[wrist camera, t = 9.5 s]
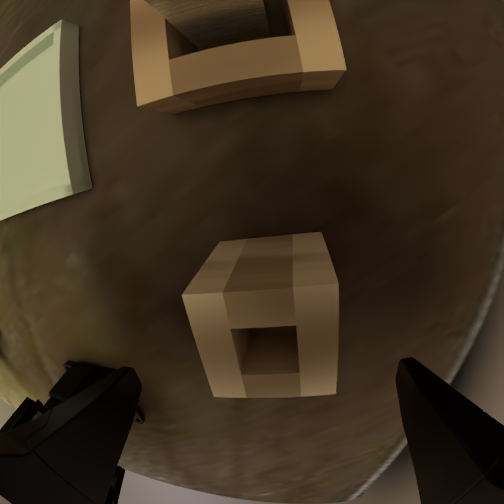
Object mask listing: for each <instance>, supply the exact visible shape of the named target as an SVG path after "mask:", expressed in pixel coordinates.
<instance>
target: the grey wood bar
mask: <svg viewBox="0 0 504 504" xmlns="http://www.w3.org/2000/svg"><path fill="white" fill-rule="evenodd" d="M144 1H145V2H147V3H148V4H149V5H150V6H151V7H153V8H154V9H155V10H156V11H157V12H158V13H160V14H161V15H162V16H163V17H164V18H165V19H167V20H168V21H169V22H170V23H171V24H172V25H173V26H174V27H175V28H177V29H178V30H179V31H180V32H181V33H182V34H183V35H184V36H185V37H186V38H187V39H188V40H190V41H191V42H192V43H193V44H194V45H195V46H196V47H197V48H198V49H199V50H200V51H203V50H207V49H211V48H215V47H220V46H225V45H229V44H235V43H240V42H246V41H252V40H258V39H265V38H271V37H270V31H269V26H268V21H267V17H266V12H265V7H264V2H263V0H144Z"/></svg>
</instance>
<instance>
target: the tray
mask: <svg viewBox="0 0 504 504" xmlns="http://www.w3.org/2000/svg"><path fill="white" fill-rule="evenodd" d="M89 189H92V183H91V177H90V172H89V166H88V160H87V154H86V147H85V140H84V132H83V123H82V113H81V102H80V86H79V26H78V25H75V24H72V23H70V22H67V21H65V20H60V21H59V22H57V23H56V24H54V25H53V26H51V27H50V28H49V29H47V30H46V31H45V32H43V33H42V34H41V35H39V36H38V37H37V38H35V39H34V40H33V41H32V42H30V43H29V44H28V45H27V46H26V47H24V48H23V49H22V50H21V51H20V52H18V53H17V54H16V55H15V56H14V57H13V58H12V59H11V60H10V61H8V62H7V63H6V64H5V65H4V66H3V67H2V68H1V69H0V221H1V220H3V219H6V218H8V217H11V216H13V215H16V214H18V213H21V212H23V211H26V210H29V209H31V208H34V207H37V206H40V205H43V204H45V203H48V202H51V201H54V200H57V199H60V198H63V197H66V196H69V195H73V194H76V193H79V192H82V191H86V190H89Z"/></svg>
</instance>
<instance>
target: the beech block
mask: <svg viewBox="0 0 504 504" xmlns="http://www.w3.org/2000/svg"><path fill="white" fill-rule="evenodd" d="M182 297H183V301H184V304H185V308H186V311H187V315H188V318H189V322H190V325H191V329H192V332H193V335H194V338H195V342H196V345H197V348H198V351H199V354H200V357H201V360H202V363H203V367H204V370H205V372H206V375H207V378H208V381H209V384H210V387H211V390H212V393H213V395H214V397H226V398H282V397H303V396H317V395H329V394H336V385H337V368H338V342H339V282H338V279H337V276H336V273H335V270H334V267H333V264H332V261H331V258H330V255H329V252H328V249H327V246H326V243H325V241H324V238H323V235H322V232H312V233H302V234H291V235H281V236H271V237H261V238H251V239H241V240H231V241H221V242H219V243H218V245H217V246H216V247H215V249H214V250H213V252H212V253H211V254H210V256H209V257H208V259H207V260H206V261H205V263H204V264H203V265H202V267H201V268H200V270H199V271H198V272H197V274H196V275H195V277H194V278H193V279H192V281H191V282H190V284H189V285H188V286H187V288H186V289H185V291H184V292H183V294H182Z"/></svg>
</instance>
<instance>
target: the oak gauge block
mask: <svg viewBox="0 0 504 504" xmlns="http://www.w3.org/2000/svg"><path fill="white" fill-rule="evenodd" d="M281 2H282V6H283V10H284V15H285V19H286V23H287V28H288V32H289V36H281V37H273V38H265V39H258V40H252V41H246V42H240V43H235V44H229V45H225V46H220V47H215V48H211V49H207V50H203V51H199V52H195V53H194V49H193V43H192V42H191V41H190V40H188V39H187V38H186V37H185V36H184V35H183V34H182V33H181V32H180V31H179V30H178V29H177V28H175V27H174V26H173V25H172V24H171V23H170V22H169V21H168V20H167V19H165V18H164V17H163V16H162V15H161V14H160V13H158V12H157V11H156V10H155V9H154V8H153V7H151V6H150V5H149V4H148V3H147V2H145V1H144V0H130V14H131V40H132V56H133V69H134V80H135V90H136V99H137V107H142V108H147V109H152V110H156V111H161V112H165V113H170V114H175V113H179V112H183V111H187V110H191V109H195V108H200V107H204V106H209V105H213V104H218V103H223V102H228V101H234V100H239V99H245V98H252V97H258V96H265V95H273V94H281V93H290V92H300V91H312V90H328V89H333V88H334V86H335V85H336V84H337V82H338V81H339V79H340V78H341V77H342V75H343V74H344V73H345V71H346V65H345V60H344V56H343V51H342V47H341V43H340V39H339V35H338V31H337V27H336V23H335V19H334V16H333V12H332V9H331V5H330V2H329V0H281Z"/></svg>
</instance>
